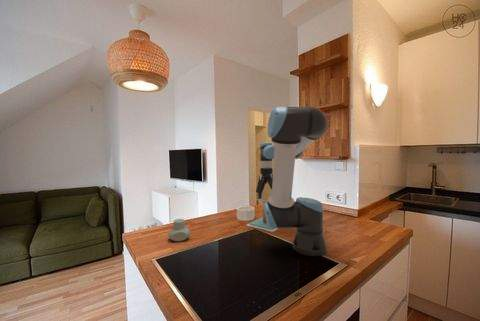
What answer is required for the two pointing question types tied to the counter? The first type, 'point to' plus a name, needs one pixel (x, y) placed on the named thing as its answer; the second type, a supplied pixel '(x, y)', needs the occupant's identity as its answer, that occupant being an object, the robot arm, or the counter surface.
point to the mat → (263, 228)
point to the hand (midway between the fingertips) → (266, 201)
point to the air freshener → (179, 230)
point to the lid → (261, 222)
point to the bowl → (245, 213)
